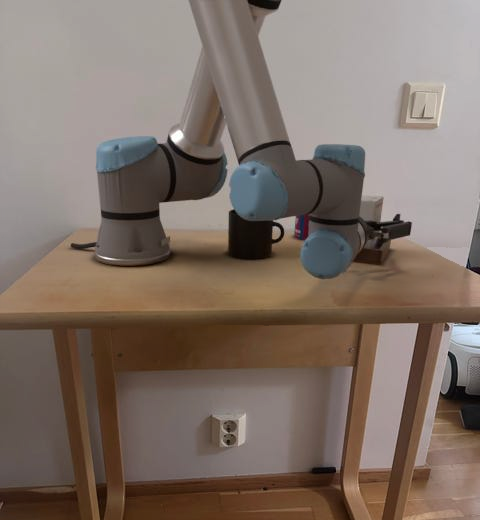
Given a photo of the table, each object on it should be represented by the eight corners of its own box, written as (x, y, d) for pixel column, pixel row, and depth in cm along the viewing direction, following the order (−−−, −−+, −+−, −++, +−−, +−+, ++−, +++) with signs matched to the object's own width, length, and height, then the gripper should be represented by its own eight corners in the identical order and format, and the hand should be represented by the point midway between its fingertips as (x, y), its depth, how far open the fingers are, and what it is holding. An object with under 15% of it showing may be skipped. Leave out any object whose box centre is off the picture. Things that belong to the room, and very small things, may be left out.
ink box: (356, 246, 112) (362, 194, 107) (377, 249, 110) (384, 196, 105) (346, 254, 105) (352, 199, 100) (369, 257, 103) (376, 201, 98)
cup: (290, 235, 124) (292, 208, 121) (326, 233, 126) (328, 207, 124) (300, 241, 118) (302, 212, 115) (337, 239, 120) (340, 211, 118)
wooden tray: (332, 258, 103) (333, 244, 102) (346, 244, 115) (347, 232, 114) (380, 264, 100) (382, 250, 99) (389, 249, 112) (391, 236, 111)
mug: (284, 260, 101) (287, 216, 98) (227, 259, 101) (227, 215, 98) (281, 249, 110) (283, 208, 107) (228, 247, 110) (229, 207, 107)
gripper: (275, 250, 91) (306, 229, 109) (415, 267, 82) (423, 241, 100) (277, 209, 88) (308, 194, 106) (422, 222, 79) (429, 204, 97)
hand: (364, 217), depth 103 cm, fingers open, 13 cm apart
